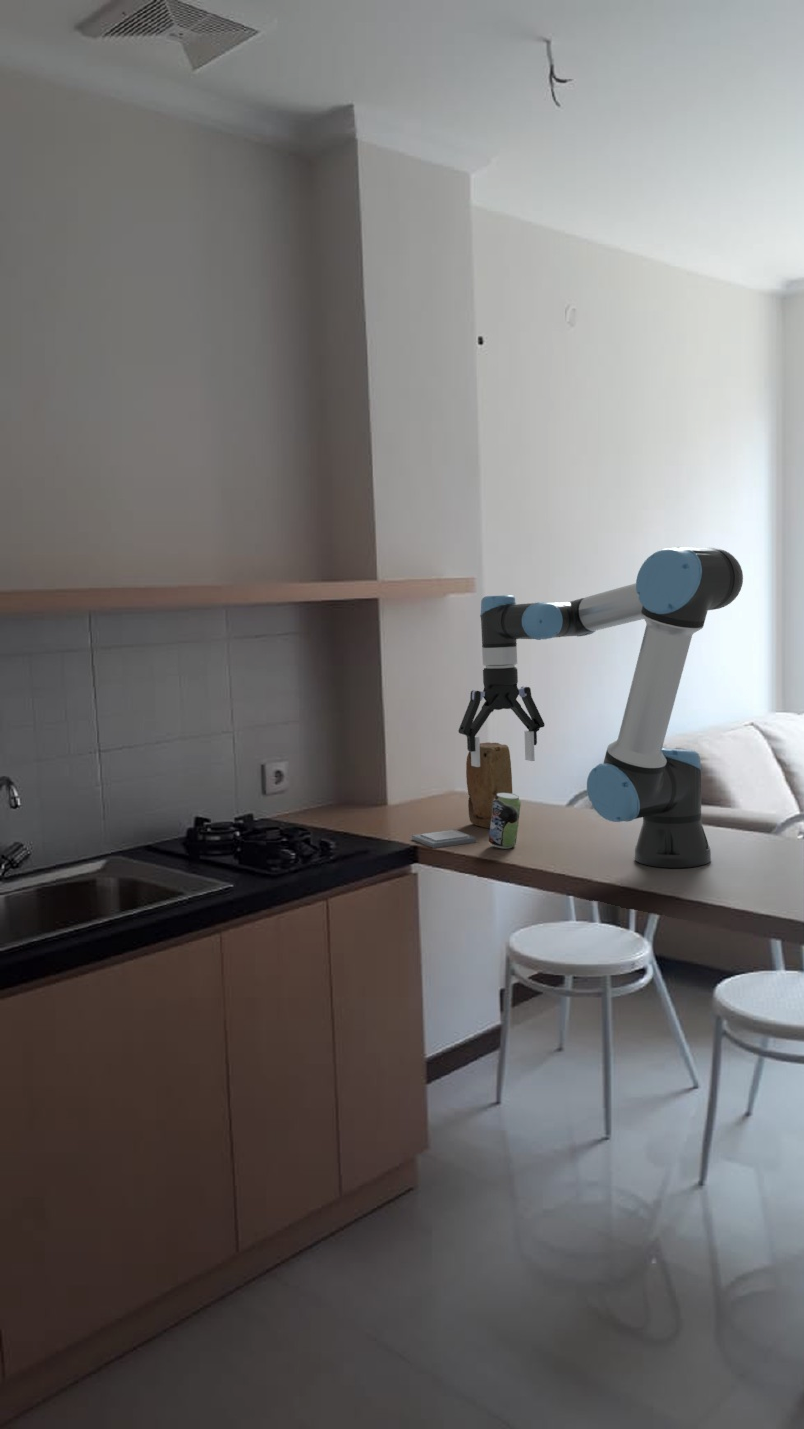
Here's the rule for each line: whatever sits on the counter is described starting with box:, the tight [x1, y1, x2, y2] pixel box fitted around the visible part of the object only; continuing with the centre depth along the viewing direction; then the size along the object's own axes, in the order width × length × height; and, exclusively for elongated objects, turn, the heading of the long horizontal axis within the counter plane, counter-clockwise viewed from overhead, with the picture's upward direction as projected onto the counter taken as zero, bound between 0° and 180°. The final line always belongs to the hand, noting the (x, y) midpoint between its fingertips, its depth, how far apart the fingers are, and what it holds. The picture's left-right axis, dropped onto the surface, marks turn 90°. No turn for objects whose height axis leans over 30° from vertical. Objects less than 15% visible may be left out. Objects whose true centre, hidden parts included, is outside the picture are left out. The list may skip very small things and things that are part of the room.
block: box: [465, 742, 513, 829], centre depth 273 cm, size 11×8×20 cm
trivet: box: [411, 829, 478, 849], centre depth 259 cm, size 11×11×1 cm
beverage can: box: [488, 793, 522, 850], centre depth 249 cm, size 6×7×12 cm
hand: (503, 763), depth 248 cm, fingers open, 13 cm apart
